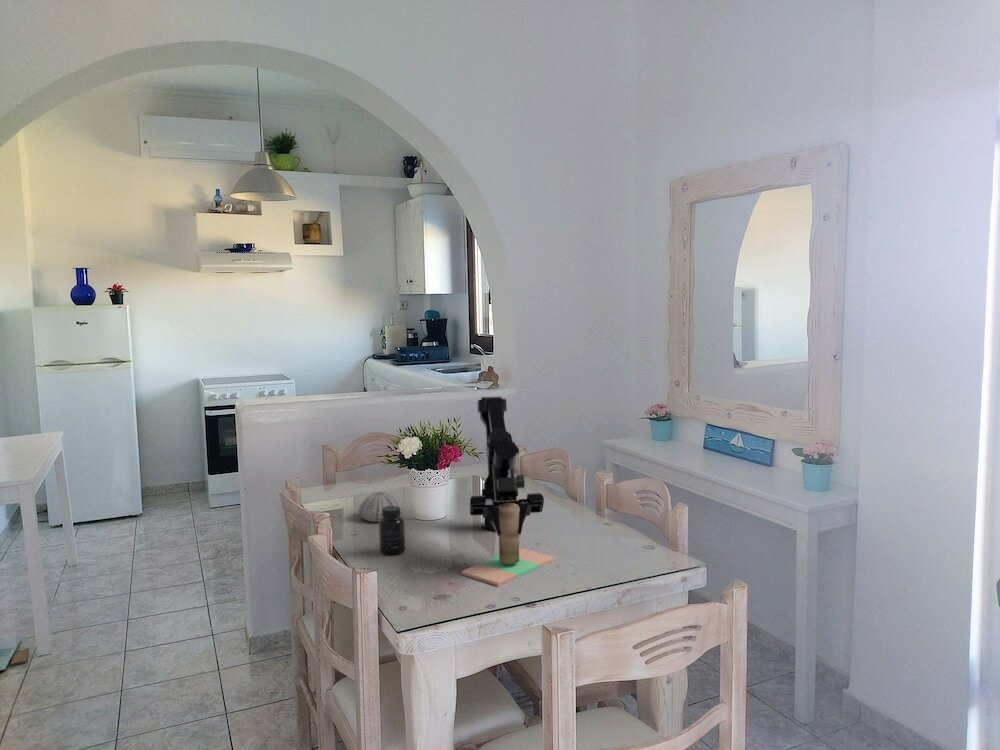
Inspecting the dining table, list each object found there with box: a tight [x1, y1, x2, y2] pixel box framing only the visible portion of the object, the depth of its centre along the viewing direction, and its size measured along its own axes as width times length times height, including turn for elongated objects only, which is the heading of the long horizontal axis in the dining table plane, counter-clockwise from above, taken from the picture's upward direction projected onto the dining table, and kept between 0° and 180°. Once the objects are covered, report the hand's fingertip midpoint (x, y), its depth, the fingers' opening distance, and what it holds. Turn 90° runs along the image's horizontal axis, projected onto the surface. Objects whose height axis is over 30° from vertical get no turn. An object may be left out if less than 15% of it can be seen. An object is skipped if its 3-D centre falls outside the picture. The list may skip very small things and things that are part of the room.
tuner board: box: [461, 547, 556, 587], centre depth 183 cm, size 22×12×1 cm, turn 139°
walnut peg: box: [498, 503, 520, 564], centre depth 182 cm, size 5×5×14 cm
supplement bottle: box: [378, 506, 406, 557], centre depth 195 cm, size 7×7×12 cm
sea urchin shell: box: [358, 491, 402, 523], centre depth 227 cm, size 13×14×8 cm
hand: (509, 534), depth 181 cm, fingers closed on walnut peg, 5 cm apart
